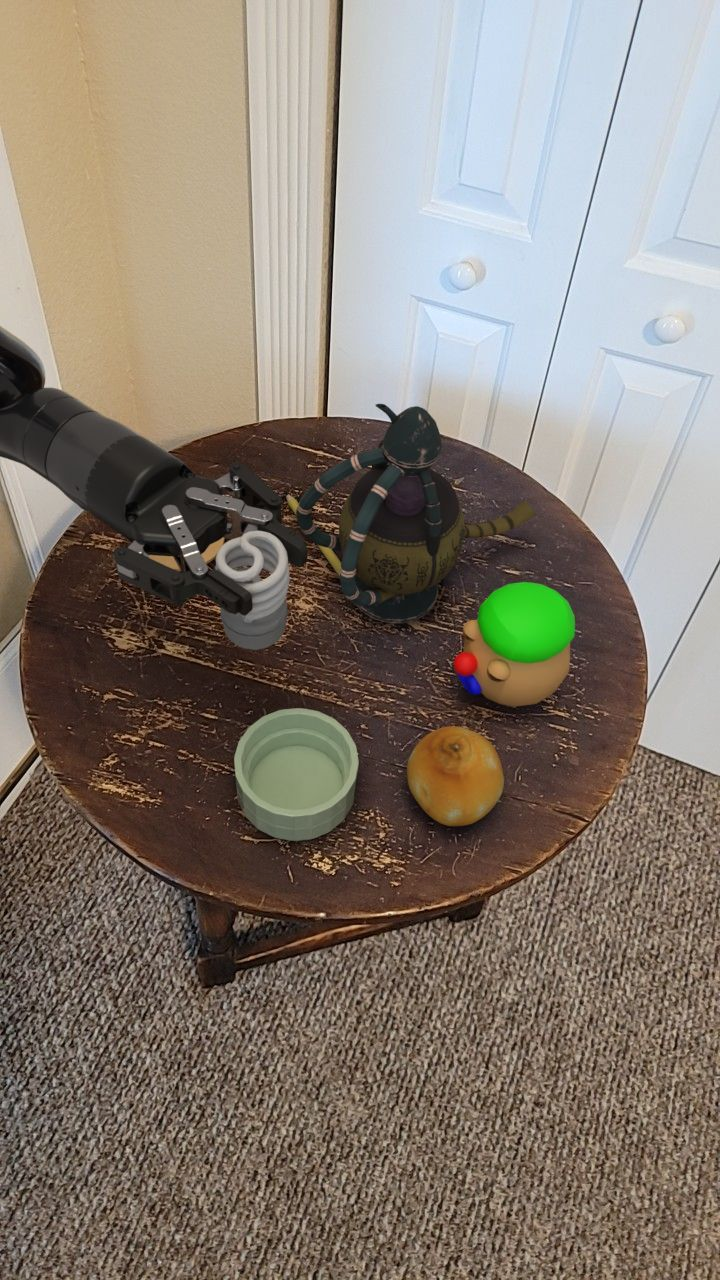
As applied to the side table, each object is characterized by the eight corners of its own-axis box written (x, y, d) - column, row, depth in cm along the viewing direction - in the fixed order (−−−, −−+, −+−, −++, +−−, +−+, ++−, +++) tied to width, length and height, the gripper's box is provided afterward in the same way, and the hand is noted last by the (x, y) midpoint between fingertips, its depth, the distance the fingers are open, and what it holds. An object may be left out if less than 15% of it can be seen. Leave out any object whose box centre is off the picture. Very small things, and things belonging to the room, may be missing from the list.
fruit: (372, 781, 79) (426, 760, 72) (421, 720, 84) (476, 696, 77) (435, 850, 80) (493, 836, 73) (480, 786, 85) (538, 767, 78)
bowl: (265, 862, 76) (263, 835, 72) (219, 763, 82) (216, 733, 78) (375, 815, 80) (379, 786, 76) (324, 723, 85) (326, 692, 81)
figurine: (525, 632, 93) (552, 550, 83) (576, 707, 87) (610, 629, 78) (424, 665, 90) (439, 583, 80) (470, 745, 84) (491, 668, 75)
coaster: (154, 582, 94) (154, 579, 94) (126, 523, 99) (126, 520, 98) (237, 555, 97) (237, 553, 96) (206, 500, 102) (206, 497, 101)
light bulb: (286, 673, 76) (287, 577, 67) (218, 669, 76) (208, 573, 66) (291, 619, 80) (291, 521, 70) (225, 616, 79) (217, 516, 70)
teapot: (289, 576, 95) (288, 391, 77) (493, 505, 104) (535, 322, 85) (343, 662, 89) (356, 482, 71) (555, 578, 97) (615, 398, 79)
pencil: (289, 494, 103) (289, 487, 102) (349, 579, 96) (350, 572, 95) (280, 496, 103) (281, 490, 102) (341, 582, 96) (341, 575, 95)
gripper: (38, 489, 68) (207, 605, 62) (178, 396, 75) (340, 493, 70) (58, 558, 74) (214, 670, 68) (186, 466, 81) (336, 560, 76)
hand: (277, 580), depth 69 cm, fingers closed on light bulb, 5 cm apart
